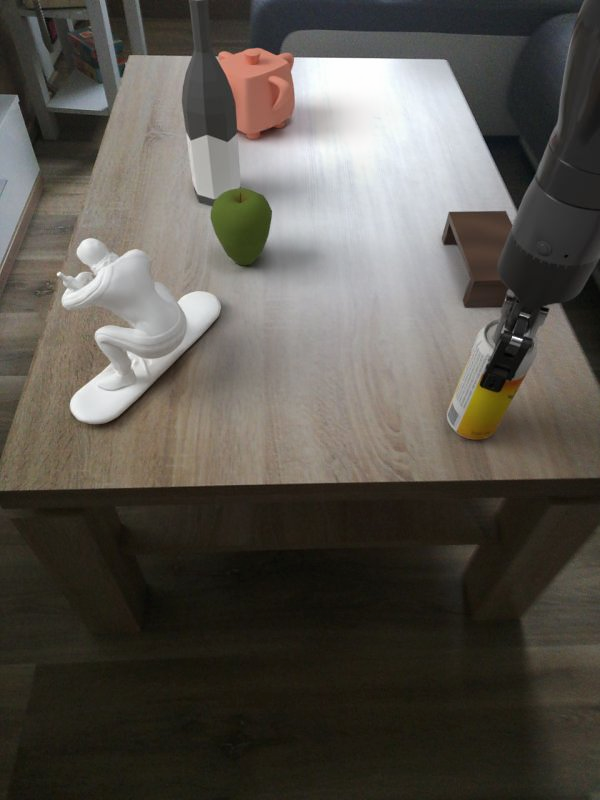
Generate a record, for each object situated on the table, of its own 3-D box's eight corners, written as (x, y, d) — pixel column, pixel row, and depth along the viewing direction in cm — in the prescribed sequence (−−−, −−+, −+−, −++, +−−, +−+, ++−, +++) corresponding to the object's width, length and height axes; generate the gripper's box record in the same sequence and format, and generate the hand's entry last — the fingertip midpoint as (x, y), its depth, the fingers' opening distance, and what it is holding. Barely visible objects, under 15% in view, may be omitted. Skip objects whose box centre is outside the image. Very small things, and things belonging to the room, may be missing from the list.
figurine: (173, 283, 82) (151, 177, 68) (245, 317, 78) (237, 211, 64) (38, 400, 68) (-21, 297, 55) (118, 448, 64) (75, 349, 51)
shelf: (525, 306, 81) (538, 279, 77) (465, 307, 80) (474, 280, 76) (495, 237, 90) (505, 210, 86) (441, 238, 90) (448, 211, 86)
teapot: (293, 106, 116) (294, 34, 105) (295, 145, 106) (296, 71, 96) (212, 105, 115) (205, 33, 105) (206, 145, 105) (198, 70, 95)
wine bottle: (243, 181, 98) (231, -25, 74) (239, 208, 93) (224, -4, 70) (197, 179, 98) (170, -28, 74) (190, 206, 93) (159, -6, 70)
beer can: (505, 434, 67) (553, 350, 55) (461, 449, 66) (502, 366, 54) (477, 396, 70) (517, 309, 58) (435, 410, 69) (468, 324, 57)
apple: (272, 242, 88) (271, 174, 79) (272, 277, 83) (271, 210, 74) (217, 242, 88) (209, 174, 79) (214, 277, 83) (205, 209, 74)
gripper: (595, 300, 41) (518, 428, 55) (614, 200, 49) (543, 333, 63) (495, 271, 43) (444, 401, 57) (529, 178, 51) (478, 312, 65)
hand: (496, 365), depth 60 cm, fingers closed on beer can, 6 cm apart
